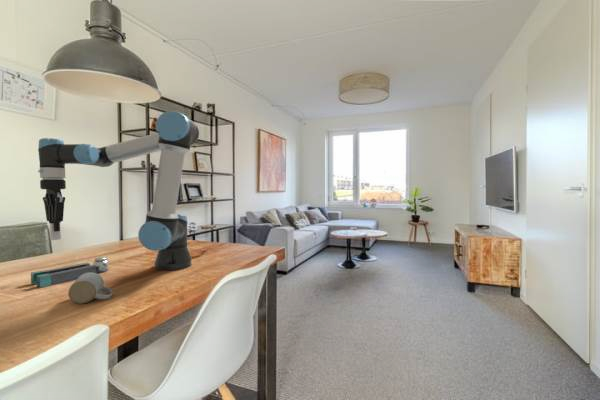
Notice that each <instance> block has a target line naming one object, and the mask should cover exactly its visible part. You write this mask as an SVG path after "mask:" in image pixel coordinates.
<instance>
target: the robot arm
mask: <svg viewBox="0 0 600 400" xmlns="http://www.w3.org/2000/svg"><path fill="white" fill-rule="evenodd" d="M155 130H156V133H152V134H148V135H144V136H140V137H136V138H132V139H130V140H129V139H128V140H126V141H125V140H124V141H122V142H118V143H114V144H113V143H112V144H110V145H106V146H102V147H96V146H95V145H93V144H89V143H88V144H87V143H78V144H77V143H76V144H73V143H72V144H71V143H70V144H65V142H64V140H63V139H60V138H59V139H58V138H48V137H43V138H40V139H39V140H38V149H37V150H38V151H37V152H38V158H39V159H38V160H39V170H38V173H39V178H40V180H39V183H40V185H39V186H40V189H41V190H46V191H45V195H44V196H43V197H42V201H43V203H44V211H45V212H44V213H45V219H46V221H47V222H48V223H49V235H50V236H49V237H50V241H57V240H61V238H62V236H61V234H62V233H61V223H62V222H63V221H64V211H65V201H66V197H65V196H63V195H62V190H66V189H67V187H66V183H67V182H66V180H65V179H66V167H65V166H66V165H70V164H71V165H73V164H75V165H87V166H94V167H100V168H105V167H110V166H112V165H114V164H115V163H119V162H124V161H126V160H130V159H134V158H138V157H142V156H145V155H149V154H153V153H157V152H160V156H159V157H160V158H159V164H158V168H157V174H156V175H157V177H156V182H155V186H154V187H155V188H154V194H153V201H152V205H151V209H150V210H149V211H148V212H146V215H145V222H144V224H142V225H141V226H140V228H139V230H138V235H137V237H138V240H139V242H140V244H141V245H142V246H143V247H144V248H145V249H147V250H150V251H153V252H154V251H156V252H157V254H156V257H155V261H154V268H155V269H156V270H158V271H159V270H160V271H175V270H176V271H177V270H182V269H186V268H189V267H191V266H192V257H191V255H190V252H189V248H188V217H187V215H185V214H178V213H176V212H177V211H176V210H177V204H178V199H179V192H180V186H181V180H182V174H183V167H184V162H185V161H184V160H185V156H186V154H187V153H188V152H190V149H191V146H193V145H194V144H196V142H197V141H198V140H199V136H200V129H199V127H198V125H197V124H196V123H195V122H194V121H193V120H192V119H190V118H189V117H188V116H187V115H185V114H184V113H182V112H180V111H176V110H166V111H165V112H163V113H162V114H160V115H158V118H157V119H156V122H155Z"/></svg>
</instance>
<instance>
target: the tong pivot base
mask: <svg viewBox="0 0 600 400" xmlns="http://www.w3.org/2000/svg"><path fill="white" fill-rule="evenodd" d="M92 262H93V263H92V264H90V266H85V267H80V268H75V269H70V270H65V271H60V272H55V273H51V274H42V275H37V284H36V287H37V288H40V289H41V288H45V287H50V286H53V285H58V284H63V283H66V282H72V281H76V280H77V279H78V277H79V276H81V275H82V274H85V273H89V272H92V273H96V274H102V273H106V272H108V271H109V259H107V258H106V260H104V261H95V260H93V261H92Z"/></svg>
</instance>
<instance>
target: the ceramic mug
mask: <svg viewBox="0 0 600 400" xmlns="http://www.w3.org/2000/svg"><path fill="white" fill-rule="evenodd" d="M101 292H103V294H102V293H101ZM104 293H106V294H104ZM67 294H68V297H69V300H71V301H72V303H75V304H79V305H80V304H87V303H89V302H91V301H92V300H94V299H98V300H108V299H110V298H111V297H112V295H113V290H112V289H110V288H109V287H106V286H105V282H104V279H103V277H102V276H101V275H100V274H99V273H92V272H89V273H85V274H82V275H81V276H79V277H78V279H76V280H74V282H73V283H72V284H71V285H70V287H69V290H68V293H67Z"/></svg>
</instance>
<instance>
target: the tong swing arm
mask: <svg viewBox="0 0 600 400" xmlns="http://www.w3.org/2000/svg"><path fill="white" fill-rule="evenodd" d="M106 259H107V257H106V256H100V257H95V258H94V261H104V260H106ZM90 265H91V263H89V262H84V263H78V264H77V263H76V264H73V265H67V266H62V267H56V268H49V269H45V270H38V271H32V272H30V284H32V285H37V275H42V274H51V273H55V272H60V271H65V270H70V269H75V268H80V267H85V266H90Z"/></svg>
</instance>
